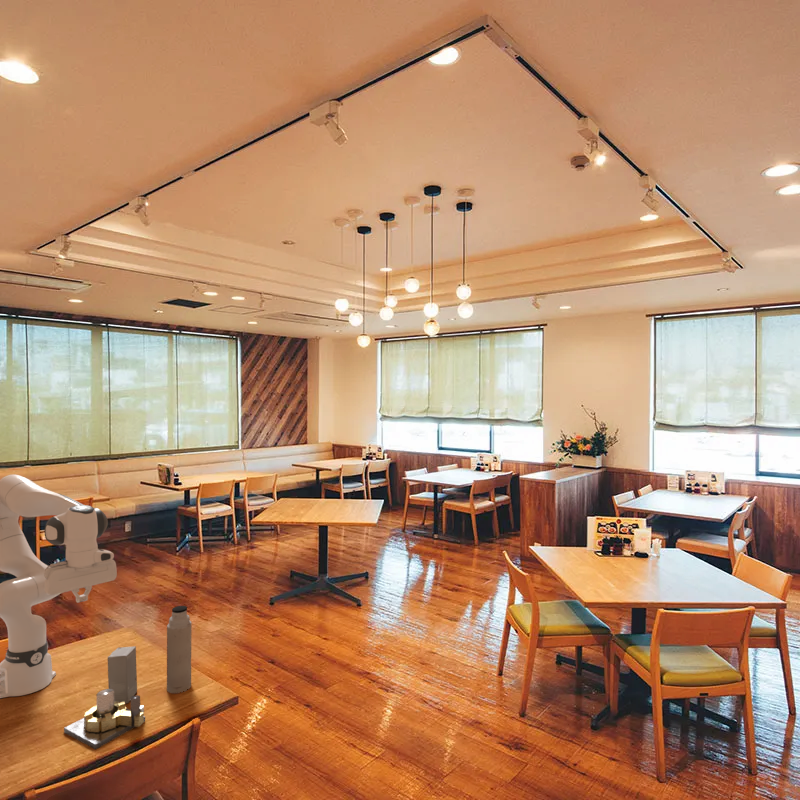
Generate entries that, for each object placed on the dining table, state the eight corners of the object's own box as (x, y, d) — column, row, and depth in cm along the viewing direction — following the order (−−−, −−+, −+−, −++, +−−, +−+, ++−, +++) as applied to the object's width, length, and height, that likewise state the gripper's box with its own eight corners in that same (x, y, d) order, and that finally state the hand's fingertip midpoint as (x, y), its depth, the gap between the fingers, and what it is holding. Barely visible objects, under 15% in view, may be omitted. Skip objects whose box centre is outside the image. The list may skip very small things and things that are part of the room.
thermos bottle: (162, 693, 189) (163, 612, 189) (172, 681, 197) (172, 603, 197) (186, 693, 189) (186, 612, 189) (194, 681, 197) (194, 603, 197)
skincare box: (128, 704, 183) (128, 656, 183) (105, 705, 182) (106, 657, 182) (138, 690, 191) (138, 645, 191) (117, 691, 190) (117, 645, 190)
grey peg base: (64, 732, 167) (64, 698, 167) (114, 707, 181) (114, 675, 181) (98, 751, 158) (98, 714, 158) (148, 722, 172) (148, 689, 172)
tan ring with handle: (76, 730, 165) (76, 703, 165) (101, 709, 176) (101, 684, 176) (130, 735, 163) (130, 708, 163) (151, 714, 174) (151, 688, 174)
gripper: (48, 567, 164) (48, 613, 164) (119, 552, 180) (119, 594, 180) (40, 563, 168) (40, 608, 168) (110, 549, 184) (110, 590, 184)
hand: (81, 601), depth 174 cm, fingers closed
